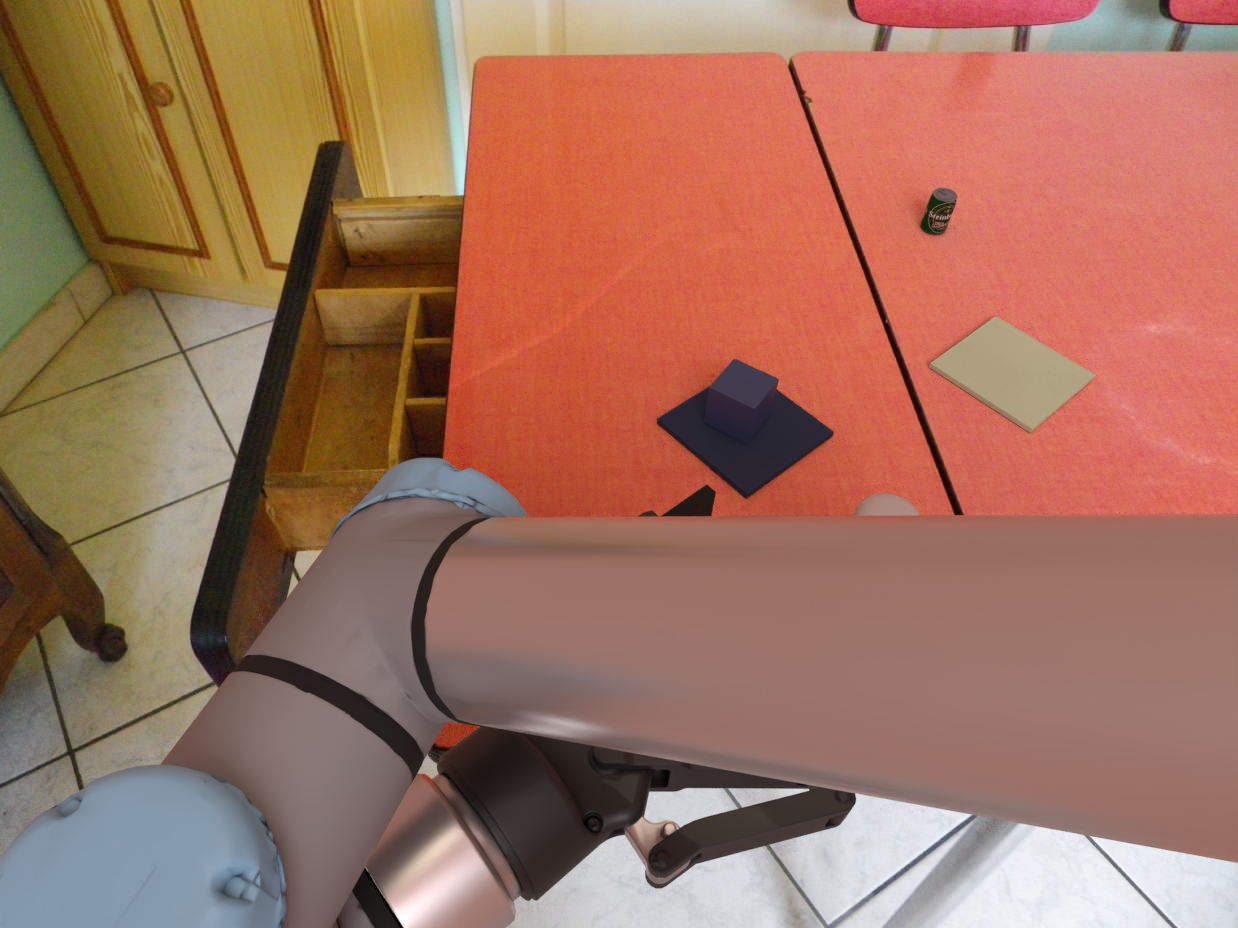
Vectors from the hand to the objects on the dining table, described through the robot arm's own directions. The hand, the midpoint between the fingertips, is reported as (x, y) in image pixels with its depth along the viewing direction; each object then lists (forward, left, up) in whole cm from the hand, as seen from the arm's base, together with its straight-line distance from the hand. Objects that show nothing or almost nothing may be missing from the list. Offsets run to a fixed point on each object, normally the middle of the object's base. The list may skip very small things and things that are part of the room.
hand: (795, 577), depth 47 cm
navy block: (+19, -18, -15) cm, 30 cm away
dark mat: (+18, -18, -15) cm, 29 cm away
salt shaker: (0, -10, -15) cm, 18 cm away
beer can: (+26, -57, -15) cm, 64 cm away
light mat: (+7, -43, -15) cm, 46 cm away
